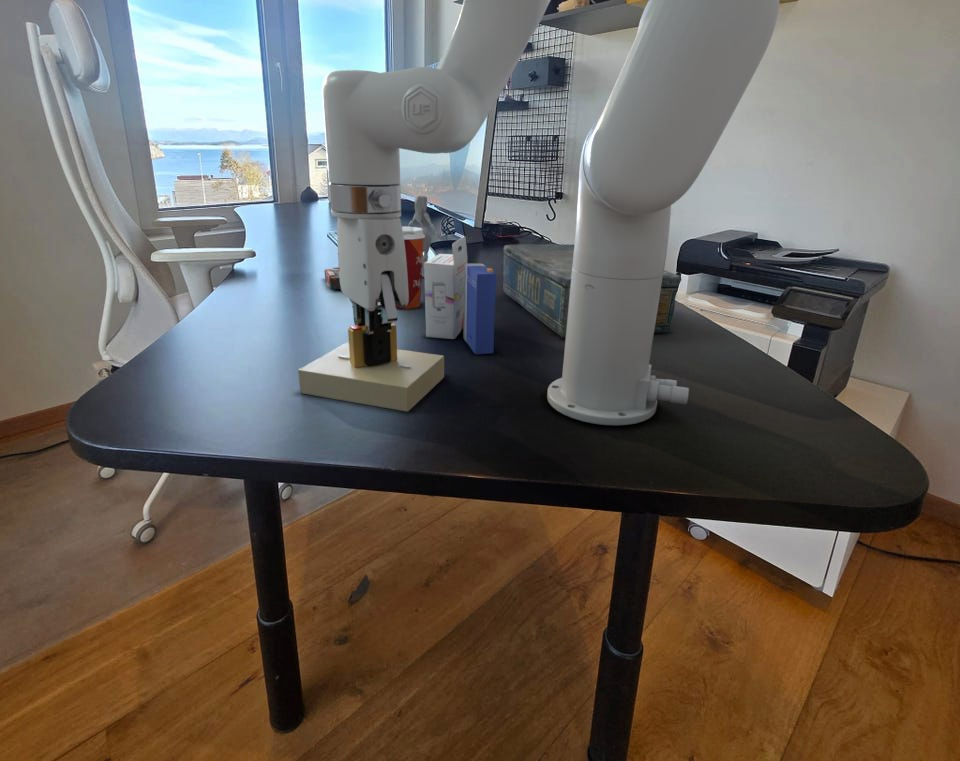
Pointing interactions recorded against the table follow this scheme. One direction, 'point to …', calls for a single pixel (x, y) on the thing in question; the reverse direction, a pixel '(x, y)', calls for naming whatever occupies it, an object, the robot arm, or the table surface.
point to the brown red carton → (332, 278)
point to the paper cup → (413, 264)
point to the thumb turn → (358, 348)
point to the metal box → (561, 284)
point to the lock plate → (373, 378)
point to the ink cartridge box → (445, 292)
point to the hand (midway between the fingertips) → (374, 359)
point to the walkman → (479, 307)
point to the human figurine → (423, 224)
